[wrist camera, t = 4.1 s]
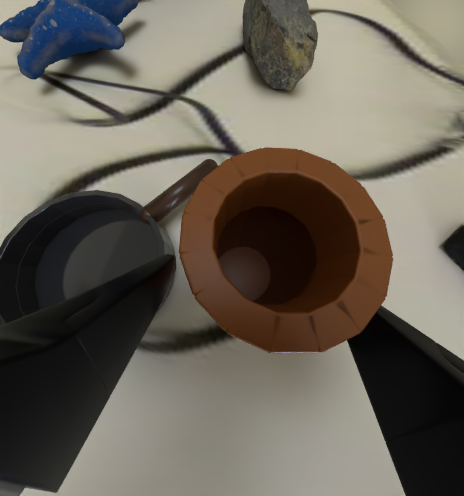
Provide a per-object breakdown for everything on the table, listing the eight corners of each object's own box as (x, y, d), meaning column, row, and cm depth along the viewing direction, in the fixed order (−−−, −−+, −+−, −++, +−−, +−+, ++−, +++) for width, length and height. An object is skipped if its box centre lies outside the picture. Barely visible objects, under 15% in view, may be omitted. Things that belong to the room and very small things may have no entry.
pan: (88, 377, 15) (47, 403, 11) (9, 267, 17) (-45, 262, 13) (202, 270, 18) (197, 265, 14) (124, 186, 19) (102, 164, 16)
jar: (242, 320, 16) (301, 418, 4) (199, 273, 17) (133, 231, 5) (284, 274, 18) (431, 237, 5) (242, 233, 19) (278, 117, 6)
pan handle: (152, 231, 16) (144, 224, 15) (141, 218, 17) (131, 210, 15) (222, 175, 18) (221, 162, 16) (211, 164, 18) (209, 151, 17)
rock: (350, 48, 20) (287, 29, 16) (309, 107, 26) (257, 103, 23) (291, -39, 23) (227, -72, 19) (267, 32, 29) (215, 18, 26)
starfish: (135, -2, 28) (116, -63, 23) (166, 74, 24) (152, 21, 19) (12, 16, 26) (-38, -47, 21) (24, 104, 22) (-33, 52, 17)
